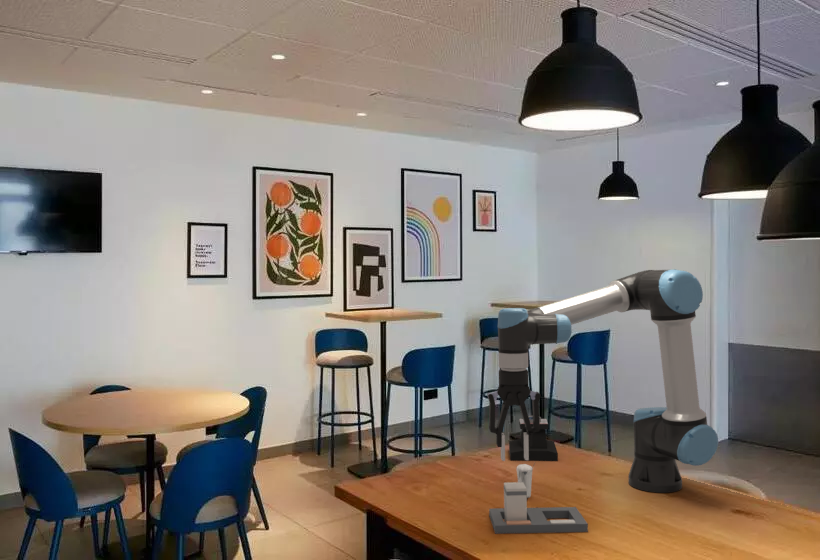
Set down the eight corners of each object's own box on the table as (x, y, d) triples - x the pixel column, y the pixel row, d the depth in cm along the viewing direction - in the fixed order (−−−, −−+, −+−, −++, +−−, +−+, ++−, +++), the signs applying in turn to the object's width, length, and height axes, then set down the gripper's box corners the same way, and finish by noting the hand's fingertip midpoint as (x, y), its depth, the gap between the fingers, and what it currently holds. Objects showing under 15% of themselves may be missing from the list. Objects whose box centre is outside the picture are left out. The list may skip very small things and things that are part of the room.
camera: (510, 422, 232) (508, 409, 247) (510, 463, 234) (508, 448, 248) (557, 423, 230) (552, 409, 245) (557, 464, 232) (552, 448, 247)
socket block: (575, 514, 182) (575, 505, 182) (587, 531, 170) (587, 522, 170) (489, 516, 182) (489, 507, 182) (495, 533, 170) (495, 524, 170)
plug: (523, 520, 178) (523, 482, 178) (527, 527, 173) (526, 488, 173) (504, 520, 178) (503, 482, 178) (507, 528, 173) (506, 488, 173)
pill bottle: (535, 499, 194) (535, 464, 194) (516, 498, 195) (516, 463, 195) (535, 494, 199) (535, 459, 198) (517, 493, 200) (516, 459, 200)
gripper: (546, 366, 179) (547, 454, 179) (476, 367, 179) (477, 455, 179) (552, 370, 171) (553, 462, 172) (479, 371, 171) (480, 464, 172)
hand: (514, 459), depth 176 cm, fingers open, 5 cm apart
